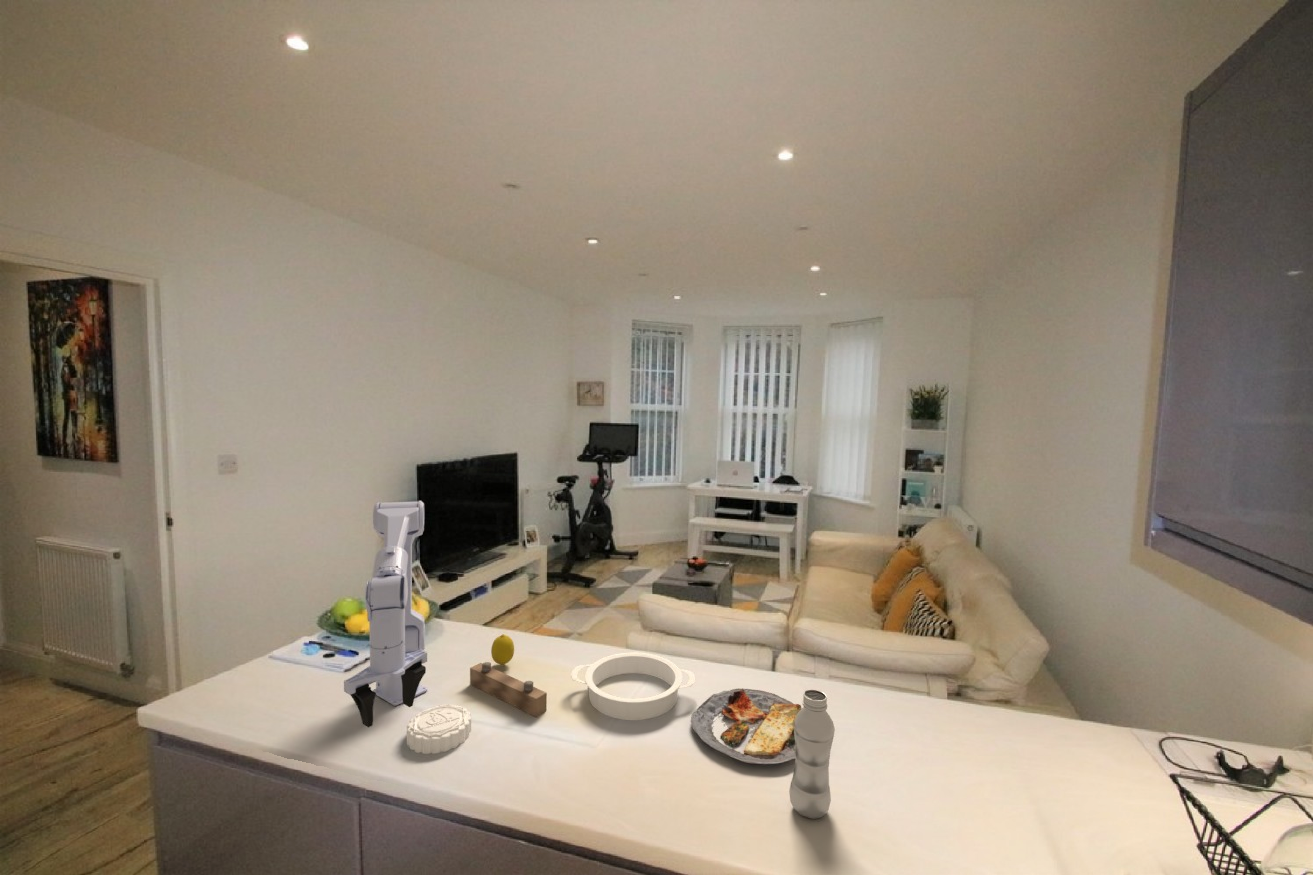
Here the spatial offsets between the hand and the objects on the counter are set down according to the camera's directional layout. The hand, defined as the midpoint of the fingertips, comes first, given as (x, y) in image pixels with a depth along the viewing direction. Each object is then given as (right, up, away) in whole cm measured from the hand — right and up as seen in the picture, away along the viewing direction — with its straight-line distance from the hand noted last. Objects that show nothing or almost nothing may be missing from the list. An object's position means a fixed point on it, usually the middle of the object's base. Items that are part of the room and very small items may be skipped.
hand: (388, 714), depth 99 cm
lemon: (+10, -7, +38) cm, 40 cm away
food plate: (+69, -11, +14) cm, 71 cm away
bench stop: (+15, -8, +24) cm, 29 cm away
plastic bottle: (+74, -12, -8) cm, 76 cm away
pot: (+43, -9, +26) cm, 52 cm away
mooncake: (+6, -9, +10) cm, 15 cm away
